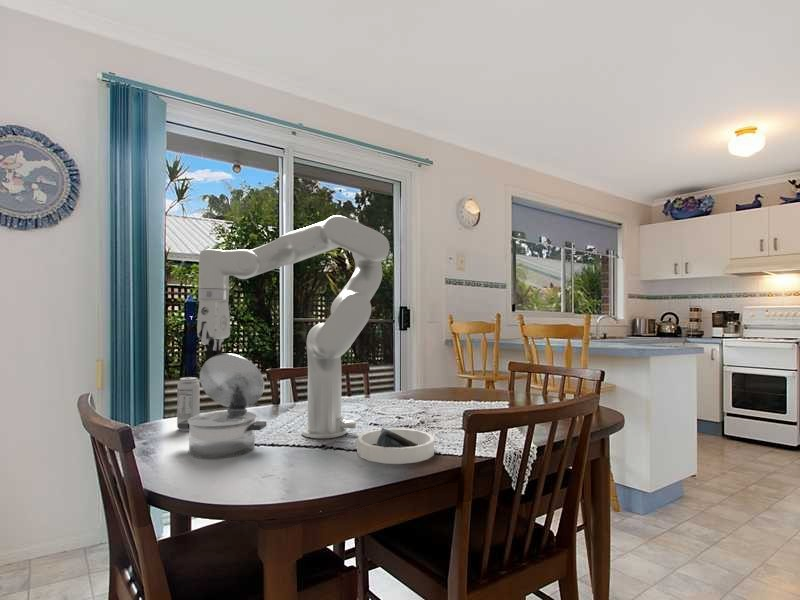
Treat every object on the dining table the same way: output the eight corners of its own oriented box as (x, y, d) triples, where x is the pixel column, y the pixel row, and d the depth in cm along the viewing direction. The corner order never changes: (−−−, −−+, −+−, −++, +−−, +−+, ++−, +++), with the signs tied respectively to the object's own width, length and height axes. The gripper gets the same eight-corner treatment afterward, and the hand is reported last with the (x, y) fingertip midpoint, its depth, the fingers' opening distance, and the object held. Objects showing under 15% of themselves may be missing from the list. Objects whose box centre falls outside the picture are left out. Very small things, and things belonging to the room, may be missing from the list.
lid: (267, 412, 134) (271, 403, 138) (256, 356, 126) (261, 348, 130) (206, 411, 136) (212, 402, 139) (192, 356, 128) (199, 348, 131)
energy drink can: (203, 427, 148) (204, 377, 148) (188, 432, 143) (188, 380, 143) (188, 426, 150) (188, 376, 151) (172, 430, 145) (172, 379, 145)
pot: (275, 440, 135) (276, 410, 135) (250, 460, 117) (251, 426, 117) (200, 438, 137) (200, 409, 137) (164, 457, 119) (164, 424, 119)
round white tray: (434, 442, 133) (434, 429, 133) (433, 464, 114) (433, 449, 114) (364, 440, 135) (364, 427, 135) (351, 462, 116) (351, 447, 116)
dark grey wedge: (422, 452, 126) (388, 418, 127) (428, 452, 119) (393, 416, 120) (397, 481, 123) (362, 446, 124) (401, 483, 116) (365, 446, 117)
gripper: (214, 295, 124) (213, 369, 124) (238, 297, 139) (237, 362, 139) (185, 295, 125) (184, 368, 125) (213, 296, 140) (212, 362, 139)
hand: (212, 365), depth 132 cm, fingers closed
